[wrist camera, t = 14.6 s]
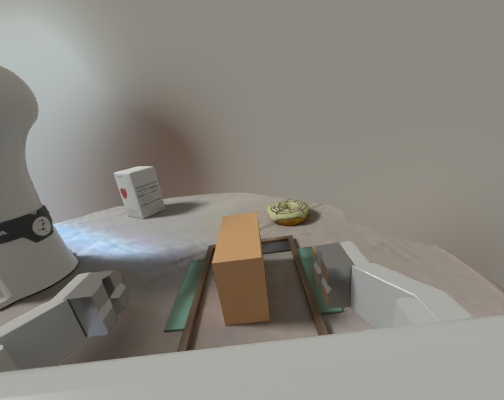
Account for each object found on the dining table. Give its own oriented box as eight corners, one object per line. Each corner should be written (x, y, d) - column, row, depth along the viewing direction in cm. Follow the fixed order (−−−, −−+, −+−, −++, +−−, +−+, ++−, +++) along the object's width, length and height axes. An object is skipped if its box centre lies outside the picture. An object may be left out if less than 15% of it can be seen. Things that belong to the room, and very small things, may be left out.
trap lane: (84, 538, 16) (80, 533, 16) (196, 250, 51) (195, 247, 51) (436, 507, 16) (438, 501, 15) (306, 236, 50) (306, 233, 50)
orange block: (225, 326, 32) (211, 263, 28) (232, 264, 45) (223, 216, 41) (270, 321, 31) (261, 257, 28) (263, 260, 45) (257, 212, 41)
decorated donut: (268, 229, 56) (267, 215, 55) (268, 212, 66) (267, 199, 65) (312, 225, 55) (312, 210, 54) (305, 208, 65) (305, 195, 64)
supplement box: (126, 216, 78) (112, 172, 73) (150, 206, 85) (137, 165, 80) (143, 219, 73) (128, 173, 68) (166, 208, 80) (154, 165, 75)
